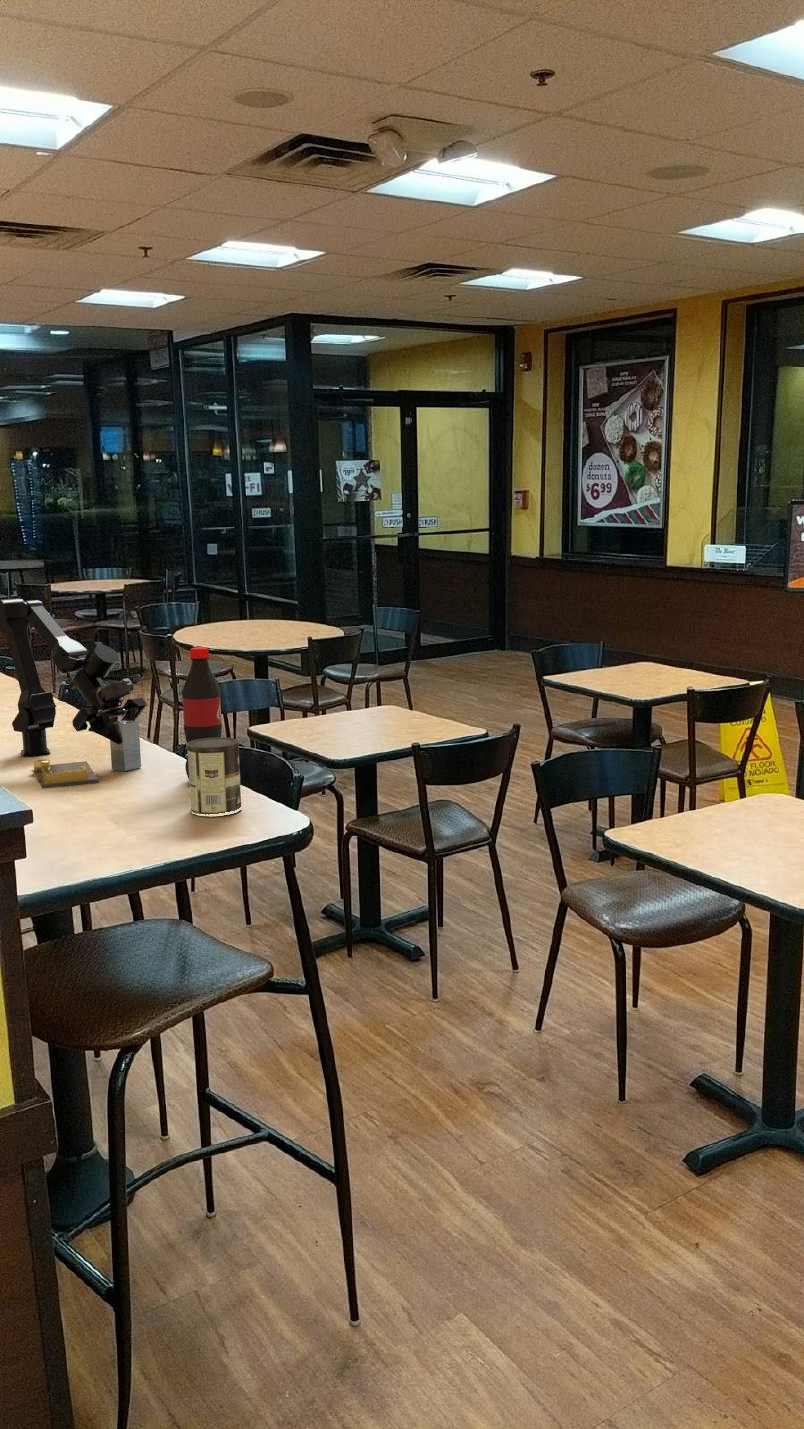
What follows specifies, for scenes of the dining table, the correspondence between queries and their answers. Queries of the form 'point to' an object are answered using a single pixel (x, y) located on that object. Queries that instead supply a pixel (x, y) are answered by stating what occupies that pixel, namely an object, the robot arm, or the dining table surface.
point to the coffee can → (214, 775)
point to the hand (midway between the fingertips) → (129, 741)
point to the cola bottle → (201, 700)
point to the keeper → (63, 773)
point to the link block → (126, 746)
